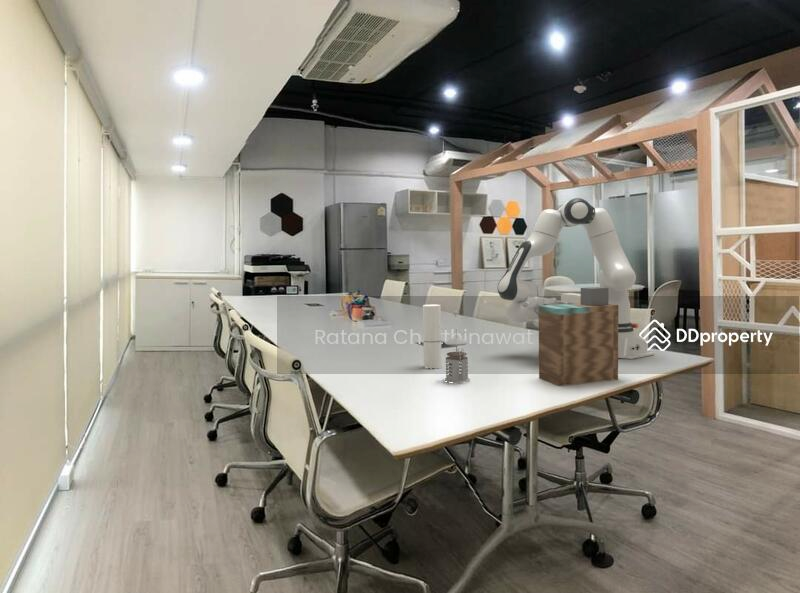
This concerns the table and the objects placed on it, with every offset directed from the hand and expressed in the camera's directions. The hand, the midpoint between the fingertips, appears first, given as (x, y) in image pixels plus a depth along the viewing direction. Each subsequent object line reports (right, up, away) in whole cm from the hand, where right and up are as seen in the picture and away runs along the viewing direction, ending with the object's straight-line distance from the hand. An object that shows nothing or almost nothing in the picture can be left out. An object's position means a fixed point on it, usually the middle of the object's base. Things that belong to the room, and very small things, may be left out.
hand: (564, 301), depth 206 cm
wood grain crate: (-1, -27, -20) cm, 34 cm away
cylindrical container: (-51, -27, +5) cm, 58 cm away
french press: (-44, -28, -18) cm, 55 cm away
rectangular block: (+2, -1, -15) cm, 15 cm away
